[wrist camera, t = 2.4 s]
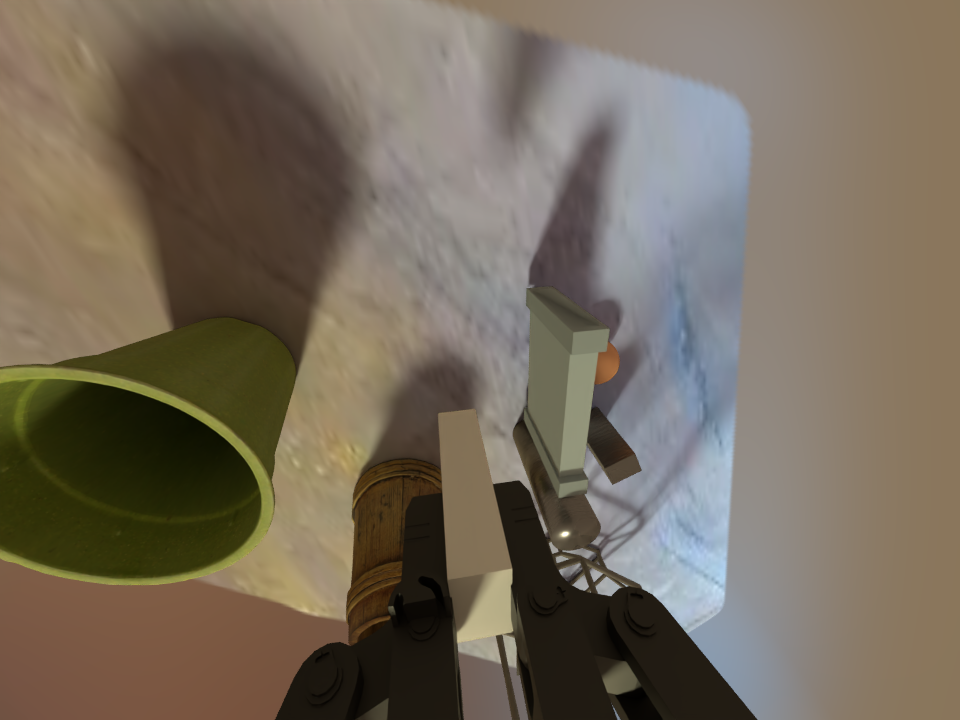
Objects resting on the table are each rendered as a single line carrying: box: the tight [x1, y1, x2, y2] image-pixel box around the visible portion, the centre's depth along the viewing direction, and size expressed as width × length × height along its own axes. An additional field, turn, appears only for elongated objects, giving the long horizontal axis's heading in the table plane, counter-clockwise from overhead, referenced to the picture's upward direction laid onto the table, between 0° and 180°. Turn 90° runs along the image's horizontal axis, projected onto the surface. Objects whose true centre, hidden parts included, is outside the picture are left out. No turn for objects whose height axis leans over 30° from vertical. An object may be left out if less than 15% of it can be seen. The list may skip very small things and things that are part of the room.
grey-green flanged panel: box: [524, 286, 610, 498], centre depth 22 cm, size 11×2×8 cm, turn 2°
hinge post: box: [513, 420, 601, 551], centre depth 25 cm, size 3×3×10 cm
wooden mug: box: [346, 459, 442, 646], centre depth 24 cm, size 9×14×18 cm, turn 143°
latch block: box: [586, 407, 642, 485], centre depth 28 cm, size 2×2×6 cm
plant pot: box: [0, 317, 296, 585], centre depth 18 cm, size 12×12×11 cm
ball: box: [594, 342, 620, 384], centre depth 25 cm, size 4×4×4 cm
